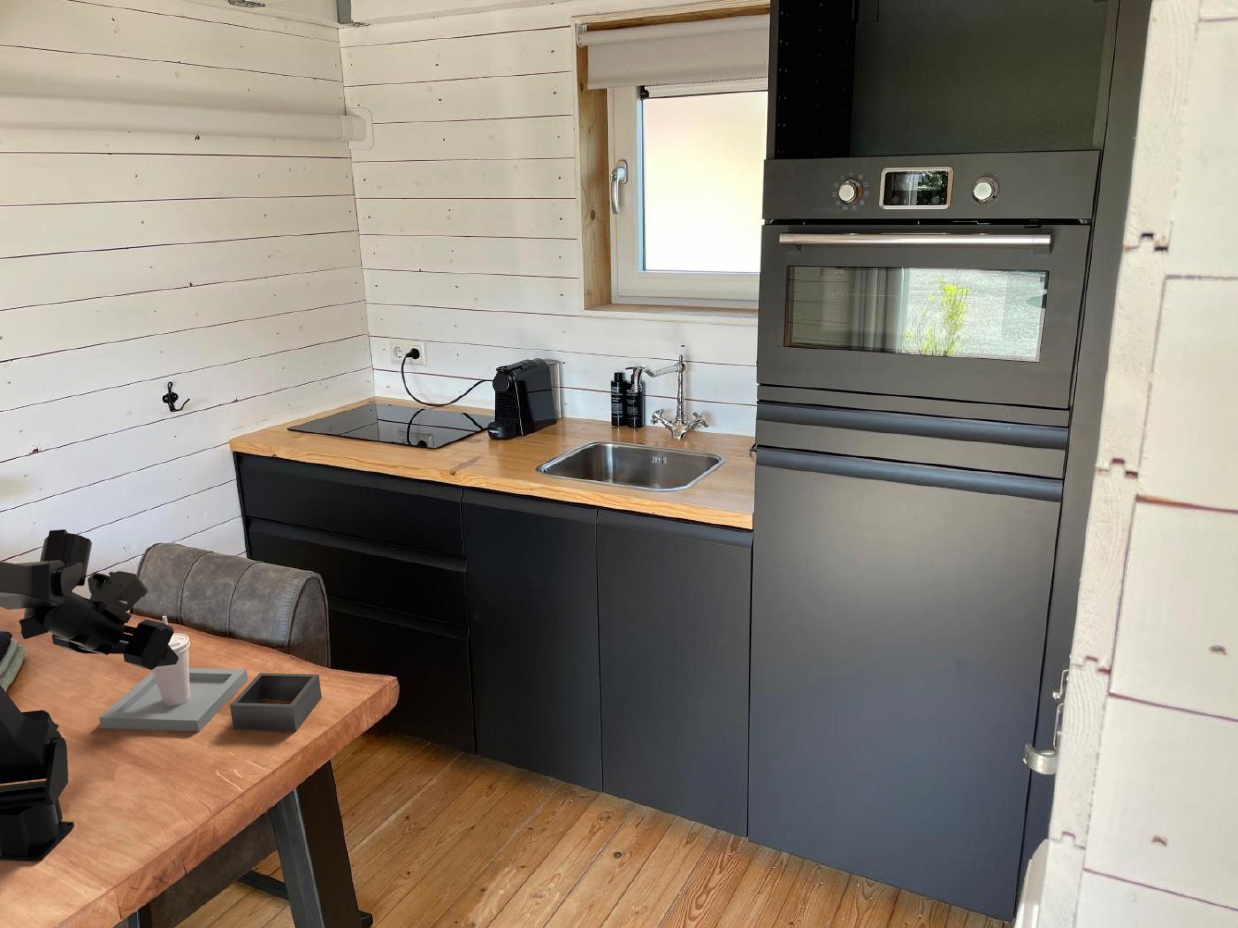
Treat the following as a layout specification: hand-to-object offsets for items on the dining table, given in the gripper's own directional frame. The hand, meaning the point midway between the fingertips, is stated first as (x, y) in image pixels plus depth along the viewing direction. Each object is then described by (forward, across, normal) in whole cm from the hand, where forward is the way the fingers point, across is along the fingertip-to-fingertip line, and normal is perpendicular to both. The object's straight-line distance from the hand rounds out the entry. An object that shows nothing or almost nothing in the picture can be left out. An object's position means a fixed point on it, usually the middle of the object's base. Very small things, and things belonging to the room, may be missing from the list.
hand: (153, 655), depth 137 cm
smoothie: (+8, 0, +4) cm, 9 cm away
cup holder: (+11, -16, +2) cm, 20 cm away
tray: (+9, 0, +5) cm, 10 cm away
